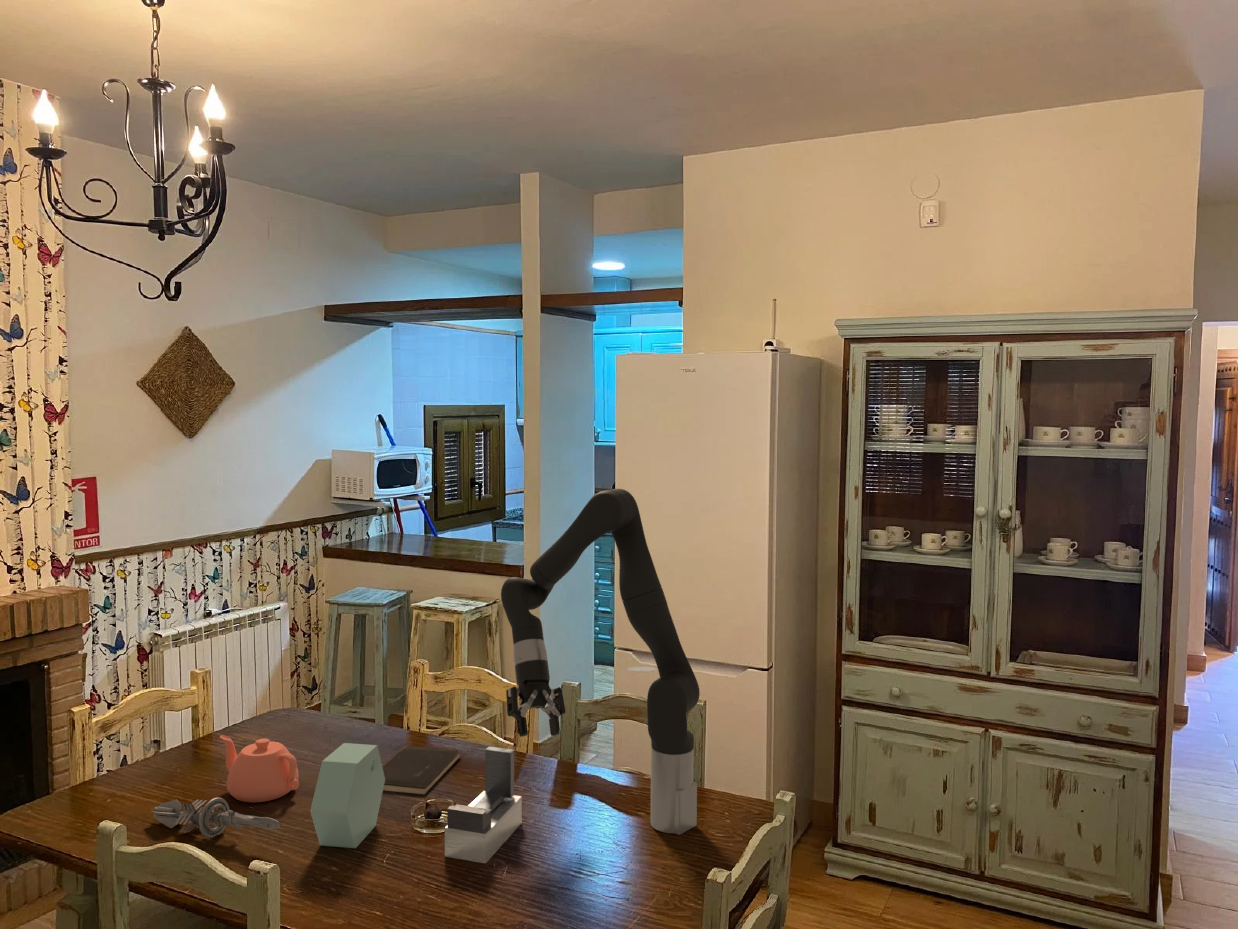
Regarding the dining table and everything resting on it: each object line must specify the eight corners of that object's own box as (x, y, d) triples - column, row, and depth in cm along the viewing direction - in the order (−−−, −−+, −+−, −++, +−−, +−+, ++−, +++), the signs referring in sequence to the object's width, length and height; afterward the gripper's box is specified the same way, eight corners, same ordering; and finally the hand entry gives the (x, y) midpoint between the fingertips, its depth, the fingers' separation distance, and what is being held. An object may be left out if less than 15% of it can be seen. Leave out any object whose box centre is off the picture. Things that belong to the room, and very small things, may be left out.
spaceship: (261, 824, 176) (286, 794, 183) (132, 812, 189) (160, 784, 196) (276, 854, 179) (299, 823, 186) (148, 840, 192) (174, 811, 199)
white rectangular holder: (483, 817, 197) (483, 773, 196) (521, 823, 194) (521, 778, 194) (444, 856, 180) (444, 808, 179) (485, 863, 177) (485, 814, 177)
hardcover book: (461, 759, 231) (461, 750, 230) (425, 797, 208) (425, 787, 208) (403, 753, 234) (403, 745, 234) (361, 791, 211) (361, 781, 211)
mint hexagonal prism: (336, 850, 191) (357, 751, 201) (370, 853, 190) (390, 753, 200) (302, 840, 176) (327, 733, 186) (339, 843, 175) (363, 736, 185)
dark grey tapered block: (488, 791, 196) (488, 746, 195) (514, 794, 194) (514, 749, 193) (466, 812, 185) (466, 765, 184) (492, 816, 183) (492, 769, 183)
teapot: (197, 798, 205) (195, 745, 205) (246, 772, 220) (245, 722, 219) (275, 813, 198) (274, 758, 197) (320, 785, 213) (319, 734, 212)
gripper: (514, 657, 196) (523, 732, 189) (565, 659, 205) (575, 731, 198) (495, 666, 200) (503, 740, 194) (546, 668, 210) (555, 738, 203)
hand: (539, 735), depth 196 cm, fingers open, 8 cm apart
